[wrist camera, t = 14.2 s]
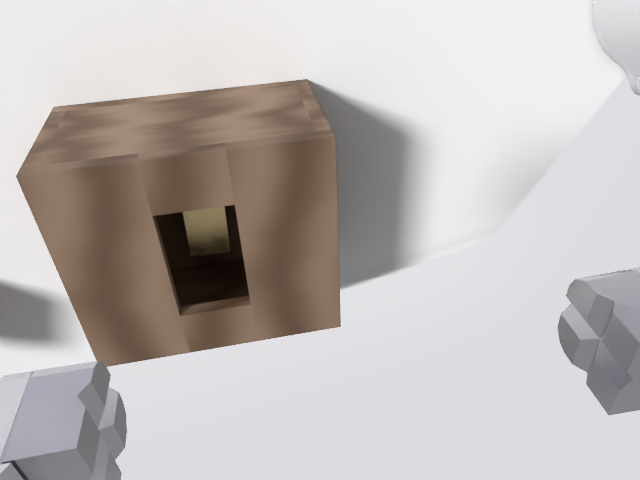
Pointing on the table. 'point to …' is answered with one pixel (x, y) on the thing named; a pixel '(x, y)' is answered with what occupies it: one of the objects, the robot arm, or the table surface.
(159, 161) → the slot box
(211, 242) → the tan rectangular block
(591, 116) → the table surface
